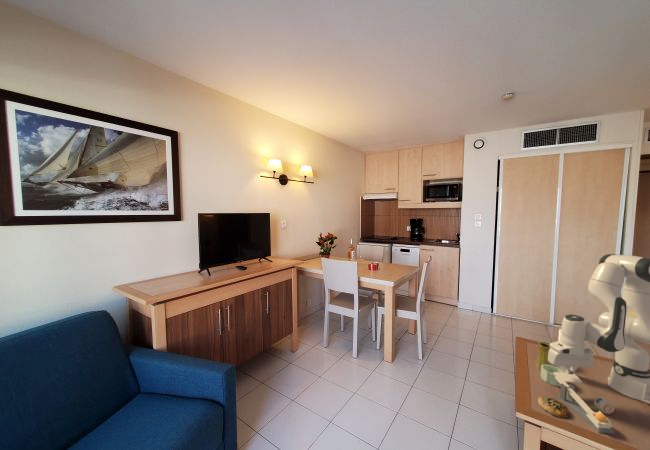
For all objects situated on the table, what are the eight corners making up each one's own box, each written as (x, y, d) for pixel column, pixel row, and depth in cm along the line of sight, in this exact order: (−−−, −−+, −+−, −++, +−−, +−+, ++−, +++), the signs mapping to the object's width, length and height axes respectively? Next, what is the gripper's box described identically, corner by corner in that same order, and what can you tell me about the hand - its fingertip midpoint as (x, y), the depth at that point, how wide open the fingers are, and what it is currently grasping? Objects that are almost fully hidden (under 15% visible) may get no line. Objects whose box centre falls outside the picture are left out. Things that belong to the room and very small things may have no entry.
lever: (547, 373, 130) (549, 369, 129) (572, 374, 130) (574, 370, 129) (597, 428, 106) (600, 423, 105) (628, 429, 106) (631, 425, 105)
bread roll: (571, 410, 117) (571, 400, 116) (566, 425, 110) (566, 415, 109) (540, 397, 126) (540, 387, 125) (534, 410, 119) (534, 401, 118)
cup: (553, 375, 142) (554, 365, 142) (569, 387, 133) (570, 376, 132) (536, 374, 142) (536, 364, 142) (551, 386, 133) (551, 375, 132)
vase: (552, 372, 145) (554, 348, 144) (540, 370, 146) (541, 347, 145) (545, 365, 151) (546, 343, 150) (533, 364, 152) (535, 341, 151)
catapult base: (556, 396, 125) (557, 381, 125) (568, 397, 125) (569, 382, 125) (598, 432, 105) (600, 414, 105) (613, 432, 105) (615, 414, 105)
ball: (599, 418, 109) (601, 411, 109) (608, 425, 106) (610, 418, 105) (591, 417, 109) (593, 410, 109) (600, 425, 106) (601, 418, 105)
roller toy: (591, 406, 119) (592, 395, 119) (605, 407, 119) (606, 395, 119) (601, 414, 115) (602, 402, 114) (615, 415, 115) (616, 403, 114)
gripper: (586, 344, 130) (584, 370, 130) (546, 343, 130) (544, 368, 131) (599, 351, 123) (596, 378, 124) (557, 350, 124) (555, 376, 125)
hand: (569, 373), depth 128 cm, fingers closed
